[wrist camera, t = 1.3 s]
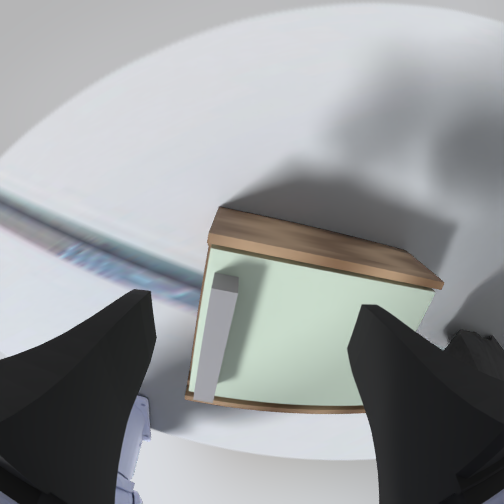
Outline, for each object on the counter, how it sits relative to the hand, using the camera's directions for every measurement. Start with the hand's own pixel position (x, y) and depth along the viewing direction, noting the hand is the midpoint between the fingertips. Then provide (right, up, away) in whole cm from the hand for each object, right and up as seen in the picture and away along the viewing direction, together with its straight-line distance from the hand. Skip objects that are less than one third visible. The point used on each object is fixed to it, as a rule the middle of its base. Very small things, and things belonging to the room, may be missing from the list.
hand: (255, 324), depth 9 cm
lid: (+3, -3, +7) cm, 9 cm away
